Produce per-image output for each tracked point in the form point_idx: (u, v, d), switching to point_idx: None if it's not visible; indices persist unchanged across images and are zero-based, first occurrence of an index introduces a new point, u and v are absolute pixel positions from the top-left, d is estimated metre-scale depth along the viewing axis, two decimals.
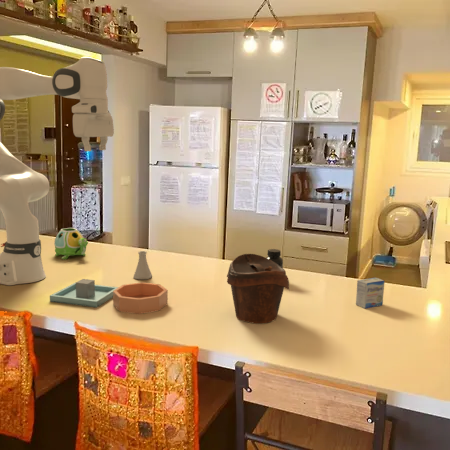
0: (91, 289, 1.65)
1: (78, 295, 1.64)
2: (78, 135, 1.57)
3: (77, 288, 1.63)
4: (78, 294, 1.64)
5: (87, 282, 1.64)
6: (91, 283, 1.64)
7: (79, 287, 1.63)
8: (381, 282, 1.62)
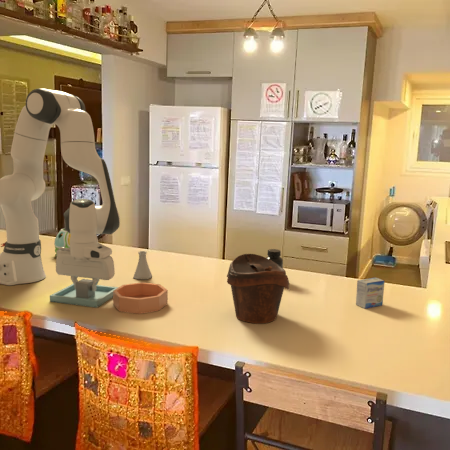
0: None
1: (78, 295, 1.64)
2: None
3: (77, 288, 1.63)
4: (78, 294, 1.64)
5: (87, 282, 1.64)
6: (91, 283, 1.64)
7: (79, 287, 1.63)
8: (381, 282, 1.62)
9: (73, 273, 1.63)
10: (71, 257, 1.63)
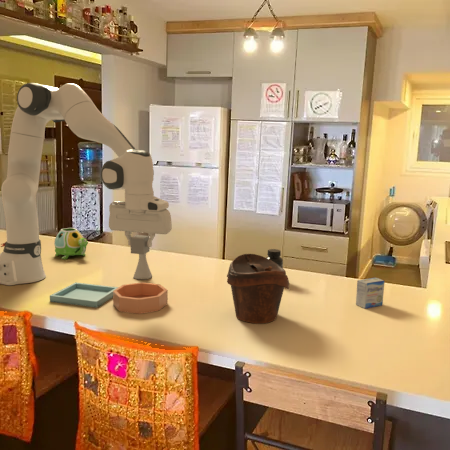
0: None
1: (133, 251, 1.55)
2: (168, 232, 1.53)
3: (132, 244, 1.55)
4: (133, 250, 1.55)
5: (142, 237, 1.55)
6: (146, 238, 1.56)
7: (134, 243, 1.55)
8: (381, 282, 1.62)
9: (128, 228, 1.55)
10: (126, 211, 1.54)
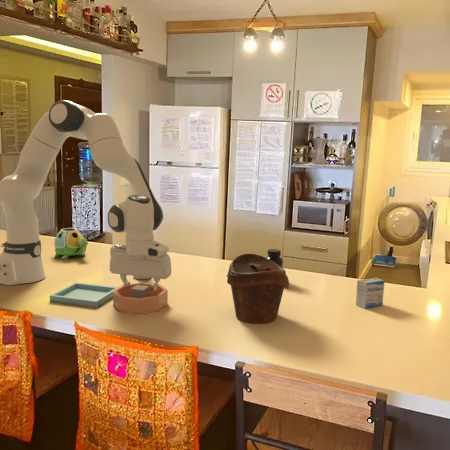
0: (146, 295, 1.59)
1: None
2: (168, 276, 1.56)
3: (132, 294, 1.58)
4: None
5: (143, 288, 1.58)
6: (146, 289, 1.59)
7: (134, 294, 1.58)
8: (381, 282, 1.62)
9: (128, 272, 1.58)
10: (126, 255, 1.57)
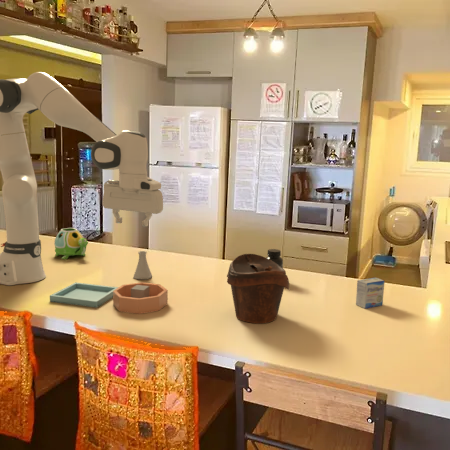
0: (146, 295, 1.59)
1: None
2: (160, 212, 1.58)
3: (132, 294, 1.58)
4: None
5: (143, 288, 1.58)
6: (146, 289, 1.59)
7: (134, 294, 1.58)
8: (381, 282, 1.62)
9: (120, 206, 1.60)
10: (119, 189, 1.59)
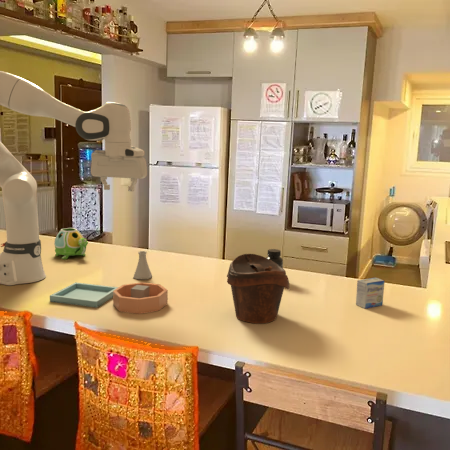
0: (146, 295, 1.59)
1: None
2: (144, 177, 1.71)
3: (132, 294, 1.58)
4: None
5: (143, 288, 1.58)
6: (146, 289, 1.59)
7: (134, 294, 1.58)
8: (381, 282, 1.62)
9: (108, 174, 1.72)
10: (106, 158, 1.71)
